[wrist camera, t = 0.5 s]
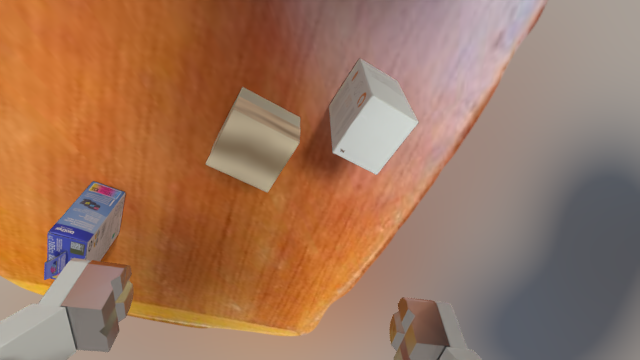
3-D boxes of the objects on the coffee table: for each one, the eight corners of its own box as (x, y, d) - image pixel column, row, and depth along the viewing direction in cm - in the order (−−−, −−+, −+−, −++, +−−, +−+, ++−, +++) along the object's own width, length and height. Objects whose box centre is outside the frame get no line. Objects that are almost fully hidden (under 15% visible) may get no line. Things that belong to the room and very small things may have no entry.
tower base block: (242, 85, 53) (238, 97, 50) (300, 116, 56) (299, 129, 53) (217, 136, 58) (211, 149, 54) (272, 162, 60) (269, 177, 57)
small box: (365, 127, 57) (376, 177, 46) (327, 106, 55) (330, 153, 44) (399, 80, 53) (420, 122, 42) (359, 56, 51) (371, 94, 40)
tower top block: (238, 95, 50) (233, 109, 47) (300, 128, 53) (299, 142, 49) (212, 149, 54) (205, 164, 51) (270, 176, 57) (267, 192, 54)
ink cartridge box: (90, 179, 61) (35, 243, 49) (126, 189, 63) (81, 255, 51) (86, 224, 66) (35, 292, 54) (119, 233, 68) (77, 301, 56)
